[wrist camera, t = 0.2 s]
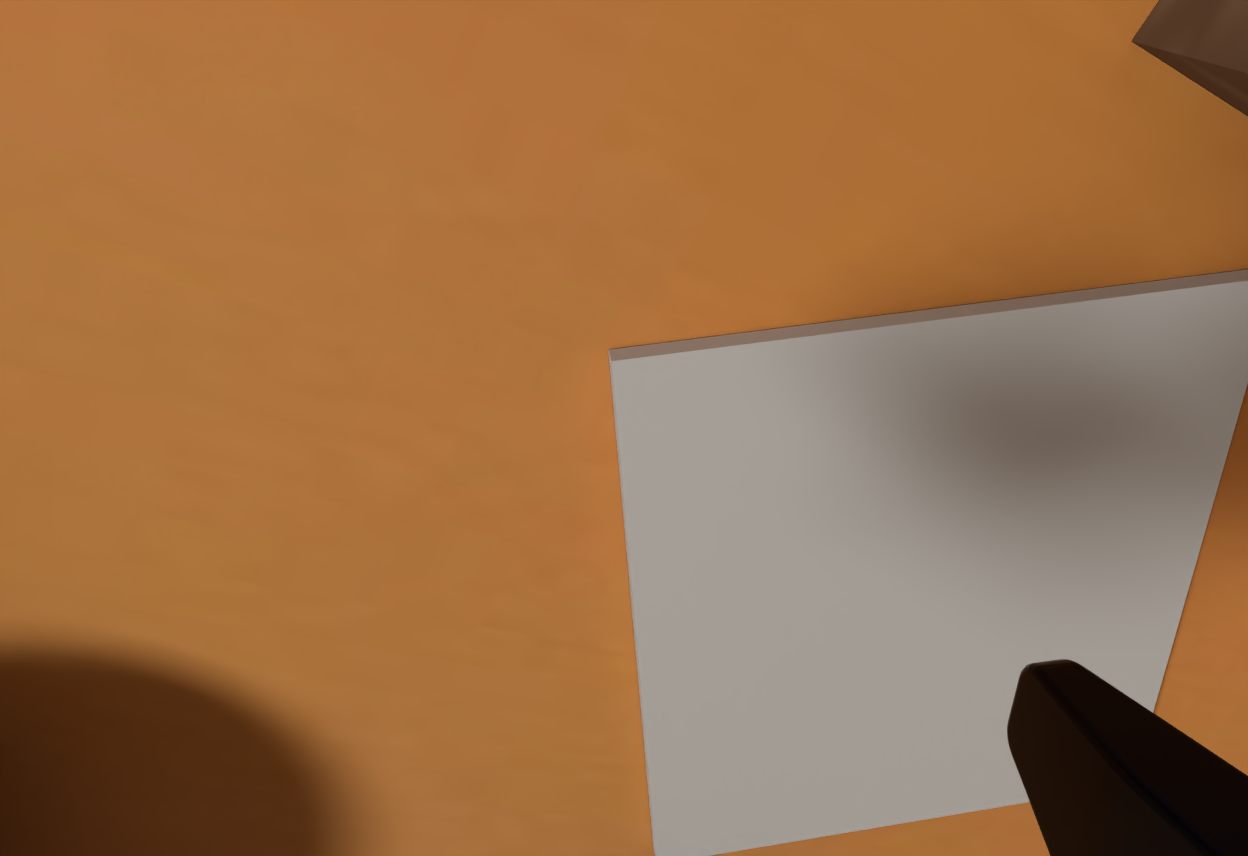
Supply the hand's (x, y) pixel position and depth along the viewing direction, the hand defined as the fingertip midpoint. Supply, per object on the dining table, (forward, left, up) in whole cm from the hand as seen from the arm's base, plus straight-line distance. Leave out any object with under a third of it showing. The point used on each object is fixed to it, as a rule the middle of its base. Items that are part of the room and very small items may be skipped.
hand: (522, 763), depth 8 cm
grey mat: (-12, -10, -14) cm, 21 cm away
